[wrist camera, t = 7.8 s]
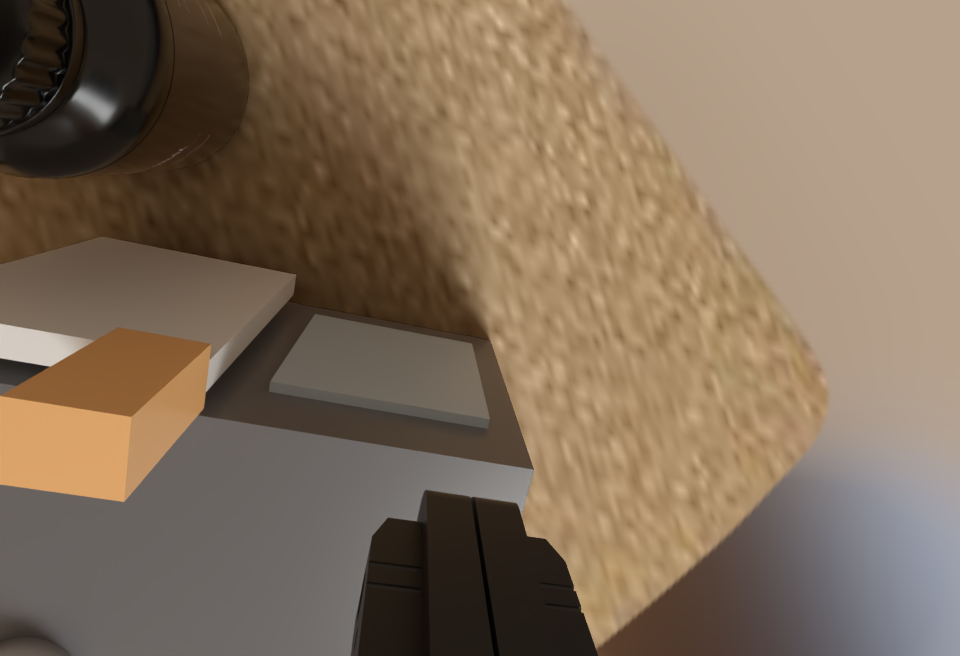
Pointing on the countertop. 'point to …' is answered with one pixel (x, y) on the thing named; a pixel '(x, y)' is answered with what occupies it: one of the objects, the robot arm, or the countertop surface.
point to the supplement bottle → (116, 85)
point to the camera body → (263, 497)
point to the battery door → (118, 357)
